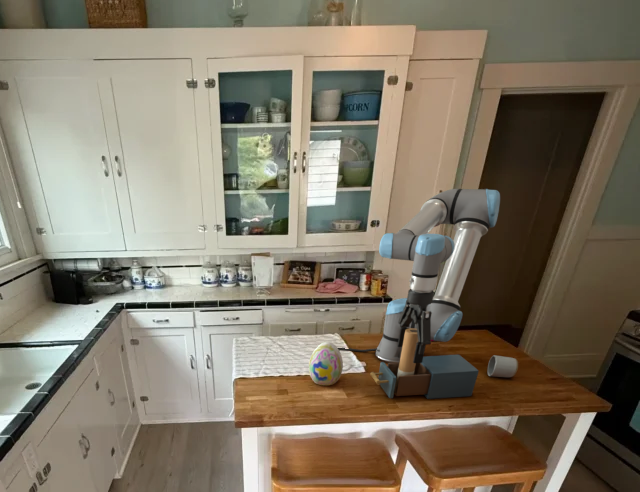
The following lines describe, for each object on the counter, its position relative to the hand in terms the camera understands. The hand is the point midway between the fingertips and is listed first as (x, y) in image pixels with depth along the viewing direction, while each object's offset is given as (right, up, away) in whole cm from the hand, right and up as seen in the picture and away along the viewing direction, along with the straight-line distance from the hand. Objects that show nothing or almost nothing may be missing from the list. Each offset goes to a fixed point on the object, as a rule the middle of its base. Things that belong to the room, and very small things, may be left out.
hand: (409, 354), depth 142 cm
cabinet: (+14, -11, +9) cm, 20 cm away
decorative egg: (-26, -7, +16) cm, 31 cm away
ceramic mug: (+39, -5, +17) cm, 43 cm away
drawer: (-1, -11, +7) cm, 13 cm away
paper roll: (0, -10, +7) cm, 12 cm away
